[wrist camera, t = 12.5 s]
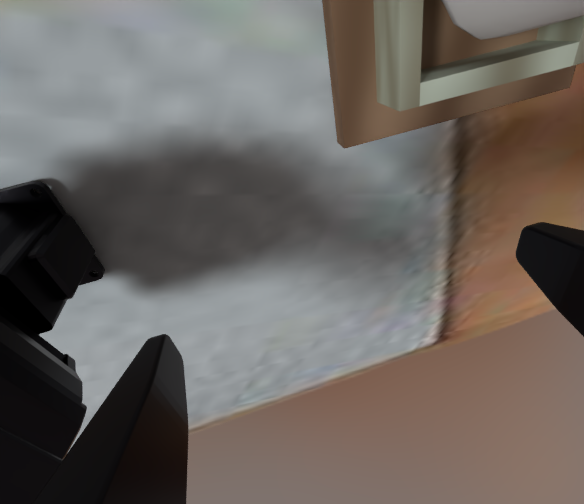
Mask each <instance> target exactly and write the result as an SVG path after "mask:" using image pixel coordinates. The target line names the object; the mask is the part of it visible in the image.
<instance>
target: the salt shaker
mask: <svg viewBox="0 0 584 504" xmlns="http://www.w3.org/2000/svg"><path fill="white" fill-rule="evenodd" d="M441 1H442V2H443V4H444V6H445V8H446V10H447V12H448V14H449V16H450V18H451V20H452V22H453V24H455V25H456V26H458V27H459V28H461V29H462V30H464V31H466V32H467V33H469V34H470V35H472V36H473V37H475V38H478V39H481V40H482V39H489V38H497V37H504V36H509V35H513V34H517V33H520V32H524V31H528V30H531V29H535V28H539V27H542V26H546V25H550V24H553V23H557V22H561V21H564V20H568V19H572V18H575V17H579V16H583V15H584V0H441Z"/></svg>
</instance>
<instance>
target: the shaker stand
mask: <svg viewBox="0 0 584 504" xmlns="http://www.w3.org/2000/svg"><path fill="white" fill-rule="evenodd" d="M322 2H323V11H324V21H325V30H326V39H327V49H328V58H329V67H330V77H331V86H332V95H333V104H334V114H335V123H336V132H337V142H338V143H339V144H340V145H341V146H342V147H343V148H348V147H352V146H356V145H359V144H363V143H367V142H370V141H374V140H378V139H381V138H385V137H389V136H393V135H396V134H400V133H404V132H407V131H411V130H415V129H419V128H422V127H426V126H430V125H433V124H437V123H441V122H444V121H448V120H452V119H456V118H459V117H463V116H467V115H470V114H474V113H478V112H482V111H485V110H489V109H493V108H496V107H500V106H504V105H507V104H511V103H515V102H519V101H522V100H526V99H530V98H533V97H537V96H541V95H544V94H548V93H552V92H556V91H559V90H563V89H567V88H570V85H571V81H572V78H573V74H574V71H575V67H576V65H577V64H581V63H584V15H583V16H579V17H575V18H572V19H568V20H564V21H561V22H557V23H553V24H550V25H546V26H542V27H539V28H535V29H531V30H528V31H524V32H520V33H517V34H513V35H509V36H504V37H497V38H489V39H482V40H481V39H478V38H475V37H473V36H472V35H470V34H469V33H467V32H466V31H464V30H462V29H461V28H459V27H458V26H456V25H455V24H453V22H452V20H451V18H450V16H449V14H448V12H447V10H446V8H445V6H444V4H443V2H442V1H441V0H322Z"/></svg>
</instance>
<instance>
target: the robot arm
mask: <svg viewBox="0 0 584 504" xmlns="http://www.w3.org/2000/svg"><path fill="white" fill-rule="evenodd" d="M33 188H36V189H38V190H40V191H41V193H42V194H37V193H35V192H34V190H33ZM94 253H95V250H94V248H93V247H92V245H91V244H90V243H89V241H88V240H87V238H86V237H85V235H84V234H83V232H82V231H81V229H80V228H79V226H78V225H77V223H76V222H75V220H74V219H73V217H72V216H70V215H68V214H67V213H66V212H65V210H64V209H63V208H62V206H61V205H60V203H59V202H58V200H57V199H56V197H55V196H54V194H53V193H52V191H51V190H50V189H49V187H48V186H47V185H46V184H44V183H43V182H40V181H31V182H28V183H24V184H20V185H16V186H12V187H8V188H5V189H1V190H0V504H186V489H187V460H188V414H187V402H186V389H185V377H184V365H183V359H182V356H181V354H180V353H179V351H178V349H177V348H176V346H175V345H174V343H173V342H172V340H171V338H170V337H169V336H168V335H166V334H162V335H159V336H155V337H152V338H150V339H148V340H147V341H146V342H145V344H144V345H143V347H142V348H141V350H140V351H139V352H138V354H137V355H136V357H135V358H134V359H133V361H132V362H131V364H130V365H129V367H128V368H127V369H126V371H125V372H124V374H123V375H122V377H121V378H120V379H119V381H118V382H117V384H116V385H115V387H114V388H113V389H112V391H111V392H110V394H109V395H108V397H107V398H106V399H105V401H104V402H103V404H102V405H101V406H100V408H99V409H98V411H97V412H96V414H95V415H94V416H93V418H92V419H91V421H90V422H89V424H88V425H87V426H86V428H85V429H84V431H83V432H82V434H81V435H80V436H79V438H78V439H77V441H76V442H75V444H74V445H73V446H72V448H71V449H70V447H71V445H72V444H73V442H74V440H75V438H76V436H77V434H78V432H79V431H80V428H81V425H82V422H83V419H84V417H85V413H86V409H87V407H86V406H85V405H84V404H83V403H82V381H81V380H80V378H79V376H78V375H77V373H76V370H75V360H74V359H73V358H71V357H70V356H69V355H67V354H65V355H63V354H62V353H61V352H60V351H58V350H57V349H56V348H54V347H53V346H52V345H51V344H49V343H48V342H47V341H45V340H44V339H43V338H42V337H40V336H39V334H40V333H44V332H47V331H50V330H52V328H53V326H54V324H55V322H56V320H57V318H58V316H59V315H60V313H61V311H62V309H63V307H64V305H65V303H66V301H67V299H71V298H72V297H73V296H74V294H75V292H76V290H77V288H78V286H79V285H82V284H86V283H89V282H93V281H96V280H99V279H101V278H102V277H103V275H104V272H105V270H104V267H103V266H102V264H101V263H100V262H99V260H98V259H97V257H96V256H95V254H94ZM516 258H517V260H518V262H519V263H520V265H521V266H522V267H523V268H524V270H525V271H526V272H527V273H528V274H529V276H530V277H531V278H532V279H533V281H534V282H535V283H536V284H537V286H538V287H539V288H540V289H541V290H542V292H543V293H544V294H545V295H546V297H547V298H548V299H549V300H550V302H551V303H552V304H553V305H554V306H555V307H556V309H557V310H558V311H559V312H560V313H561V314H562V315H563V316H564V317H565V318H566V319H567V320H568V321H569V322H570V323H571V324H572V325H573V326H574V327H575V328H576V329H577V330H578V331H579V332H580V333H581V334H582V335H583V336H584V231H583V230H578V229H573V228H568V227H564V226H559V225H554V224H549V223H544V222H540V223H535V224H532V225H529V226H526V227H524V228H523V230H522V231H521V235H520V238H519V242H518V246H517V249H516ZM92 271H97V272H98V273H93V272H92ZM69 449H70V451H69ZM68 451H69V452H68ZM67 453H68V454H67Z"/></svg>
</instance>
